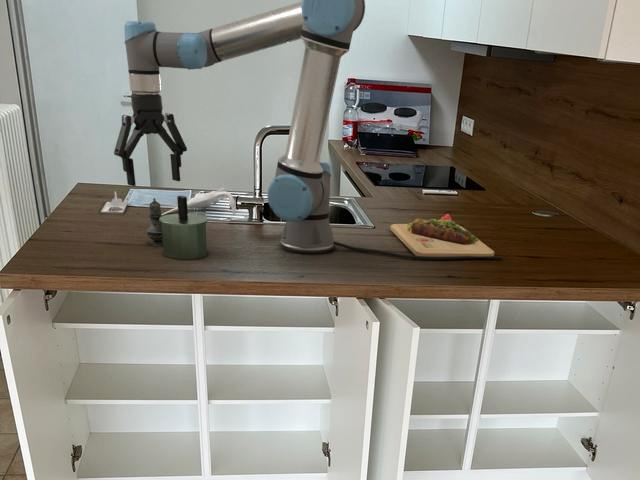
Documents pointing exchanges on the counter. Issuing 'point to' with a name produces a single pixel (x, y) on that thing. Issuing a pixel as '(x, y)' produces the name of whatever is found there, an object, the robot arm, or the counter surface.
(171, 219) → the pot lid
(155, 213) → the dark grey tall piece
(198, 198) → the dinosaur
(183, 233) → the pot
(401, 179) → the counter surface
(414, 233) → the cutting board
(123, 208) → the car cutout
